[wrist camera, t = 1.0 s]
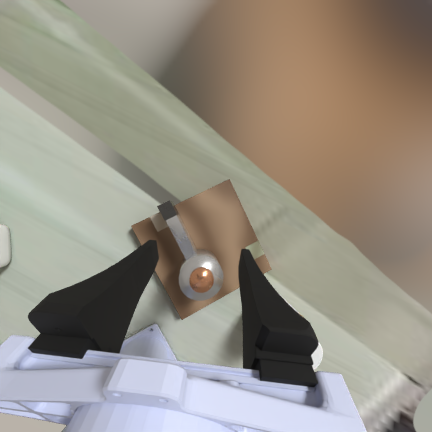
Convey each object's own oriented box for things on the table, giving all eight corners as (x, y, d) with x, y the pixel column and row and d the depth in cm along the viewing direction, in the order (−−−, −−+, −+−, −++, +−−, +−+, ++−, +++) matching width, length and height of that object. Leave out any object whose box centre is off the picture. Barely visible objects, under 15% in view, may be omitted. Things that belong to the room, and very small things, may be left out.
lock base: (182, 313, 26) (181, 320, 25) (134, 225, 25) (130, 226, 23) (267, 266, 28) (271, 269, 27) (227, 180, 27) (229, 179, 25)
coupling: (224, 274, 25) (231, 289, 21) (191, 292, 25) (191, 311, 20) (185, 196, 24) (183, 192, 19) (149, 213, 24) (138, 213, 19)
